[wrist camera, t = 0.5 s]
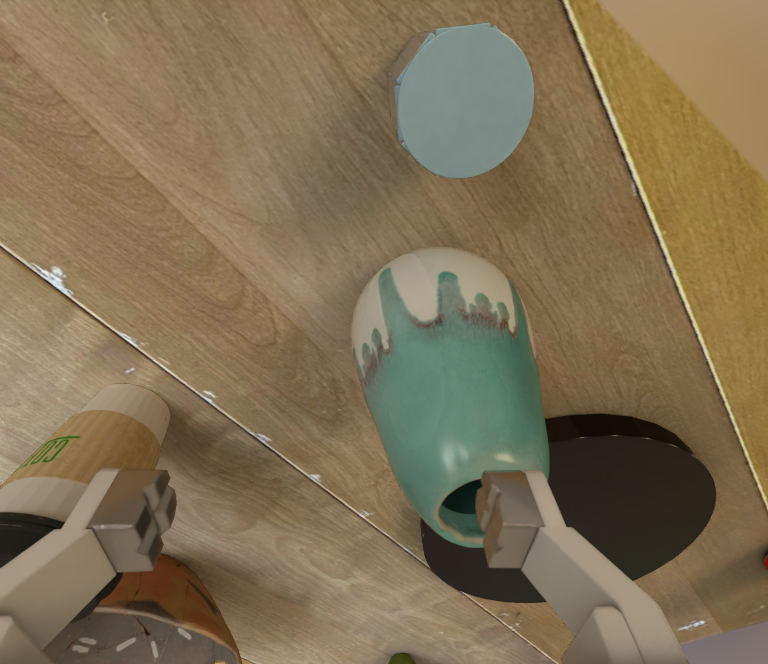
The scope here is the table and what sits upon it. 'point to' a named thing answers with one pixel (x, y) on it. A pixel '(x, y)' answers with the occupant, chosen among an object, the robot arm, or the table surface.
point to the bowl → (150, 623)
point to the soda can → (766, 562)
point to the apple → (401, 659)
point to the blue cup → (461, 98)
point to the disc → (600, 503)
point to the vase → (449, 381)
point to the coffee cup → (80, 467)
